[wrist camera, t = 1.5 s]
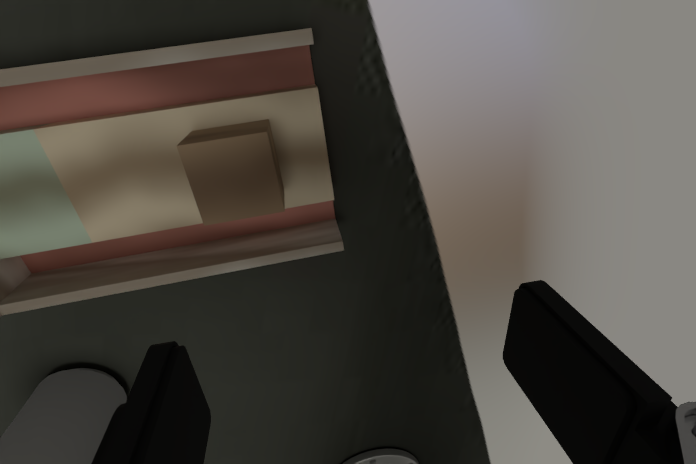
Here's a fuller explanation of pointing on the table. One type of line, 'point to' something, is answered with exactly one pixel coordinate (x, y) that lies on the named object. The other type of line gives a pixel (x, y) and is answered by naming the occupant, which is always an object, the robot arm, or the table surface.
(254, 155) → the walnut block
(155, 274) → the trap box
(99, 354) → the table surface
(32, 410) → the can
